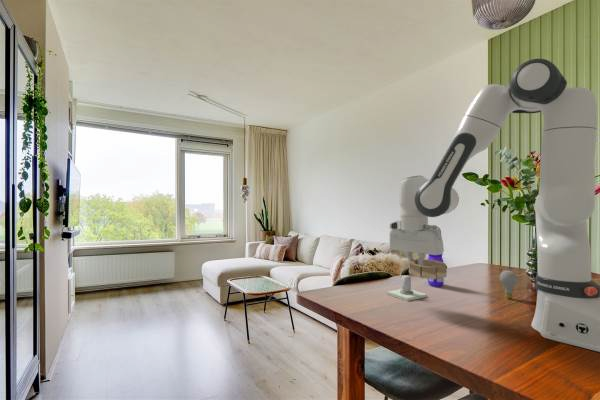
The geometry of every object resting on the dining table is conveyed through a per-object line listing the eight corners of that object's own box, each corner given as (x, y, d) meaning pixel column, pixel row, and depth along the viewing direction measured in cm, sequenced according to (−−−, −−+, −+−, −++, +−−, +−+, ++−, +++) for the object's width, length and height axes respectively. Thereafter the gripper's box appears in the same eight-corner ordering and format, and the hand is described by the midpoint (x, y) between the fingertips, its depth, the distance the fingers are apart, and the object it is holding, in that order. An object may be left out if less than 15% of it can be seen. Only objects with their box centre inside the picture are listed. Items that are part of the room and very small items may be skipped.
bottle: (446, 287, 132) (445, 244, 132) (432, 287, 132) (431, 244, 132) (439, 283, 139) (438, 242, 140) (425, 283, 140) (425, 242, 140)
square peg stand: (427, 296, 119) (426, 277, 119) (407, 301, 114) (407, 281, 114) (406, 290, 128) (405, 272, 128) (386, 294, 123) (386, 275, 123)
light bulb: (500, 299, 115) (500, 271, 115) (499, 295, 120) (498, 268, 120) (519, 301, 112) (518, 272, 112) (517, 297, 117) (516, 269, 117)
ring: (453, 275, 104) (453, 264, 103) (429, 280, 98) (429, 268, 98) (425, 268, 113) (425, 258, 113) (401, 271, 108) (402, 261, 108)
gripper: (447, 224, 103) (449, 269, 102) (398, 223, 120) (400, 260, 120) (433, 225, 99) (435, 271, 99) (385, 224, 117) (387, 262, 117)
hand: (415, 265), depth 110 cm, fingers closed on ring, 2 cm apart
